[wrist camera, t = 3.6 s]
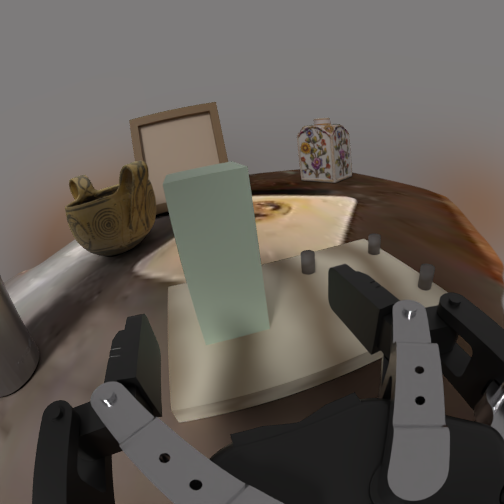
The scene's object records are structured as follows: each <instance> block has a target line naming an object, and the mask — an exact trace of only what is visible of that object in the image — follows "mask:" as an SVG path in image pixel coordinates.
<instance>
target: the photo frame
mask: <svg viewBox="0 0 504 504" xmlns="http://www.w3.org/2000/svg"><path fill="white" fill-rule="evenodd" d="M130 129H131V137H132V144H133V150H134V157H135V161H140V160H141V161H144V162H145V163H146V164H147V166H148V173H149V176H148V179H149V180H150V182H151V184H152V187H153V190H154V194H155V199H156V215H157V214H161V213H165V212H169V211H168V207H167V202H166V198H165V193H164V189H163V182H164V179H165V177H166V175H168V174H172V173H177V172H181V171H186V170H190V169H195V168H200V167H205V166H210V165H215V164H220V163H226V162H228V159H227V154H226V149H225V144H224V140H223V135H222V130H221V125H220V120H219V115H218V110H217V106H216V102H212V103H206V104H200V105H194V106H188V107H183V108H178V109H173V110H168V111H164V112H160V113H155V114H151V115H147V116H143V117H139V118H135V119H132V120H130Z"/></svg>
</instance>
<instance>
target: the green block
mask: <svg viewBox="0 0 504 504" xmlns="http://www.w3.org/2000/svg"><path fill="white" fill-rule="evenodd" d="M163 189H164V193H165V198H166V202H167V207H168V211H169V216H170V220H171V224H172V228H173V232H174V236H175V240H176V244H177V248H178V252H179V256H180V260H181V263H182V267H183V271H184V274H185V278H186V281H187V285H188V288H189V292H190V295H191V299H192V302H193V305H194V309H195V312H196V315H197V319H198V322H199V325H200V328H201V331H202V334H203V337H204V340H205V343H206V345H209V344H214V343H218V342H222V341H226V340H230V339H234V338H238V337H241V336H245V335H249V334H253V333H256V332H260V331H263V330H267V329H270V326H269V318H268V311H267V303H266V296H265V289H264V281H263V274H262V267H261V259H260V252H259V245H258V238H257V230H256V223H255V216H254V209H253V202H252V195H251V188H250V181H249V174H248V167H247V166H244V165H241V164H238V163H235V162H232V161H231V162H226V163H220V164H215V165H210V166H205V167H200V168H195V169H190V170H186V171H181V172H177V173H172V174H168V175H166V177H165V179H164V182H163Z"/></svg>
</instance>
